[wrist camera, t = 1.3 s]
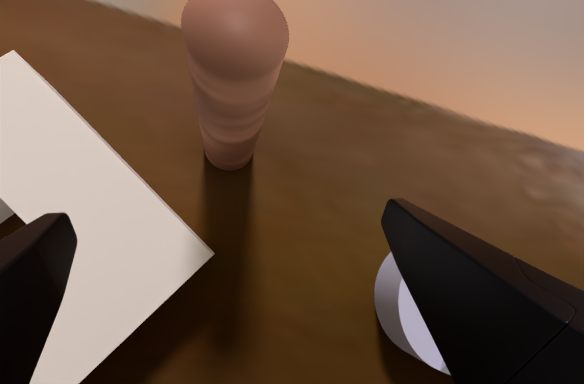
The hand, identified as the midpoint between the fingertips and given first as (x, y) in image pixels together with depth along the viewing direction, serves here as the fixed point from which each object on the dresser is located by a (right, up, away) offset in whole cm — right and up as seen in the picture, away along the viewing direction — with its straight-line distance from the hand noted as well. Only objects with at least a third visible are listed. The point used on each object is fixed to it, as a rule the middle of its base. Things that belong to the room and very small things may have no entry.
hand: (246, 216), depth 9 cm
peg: (-3, +4, +14) cm, 15 cm away
